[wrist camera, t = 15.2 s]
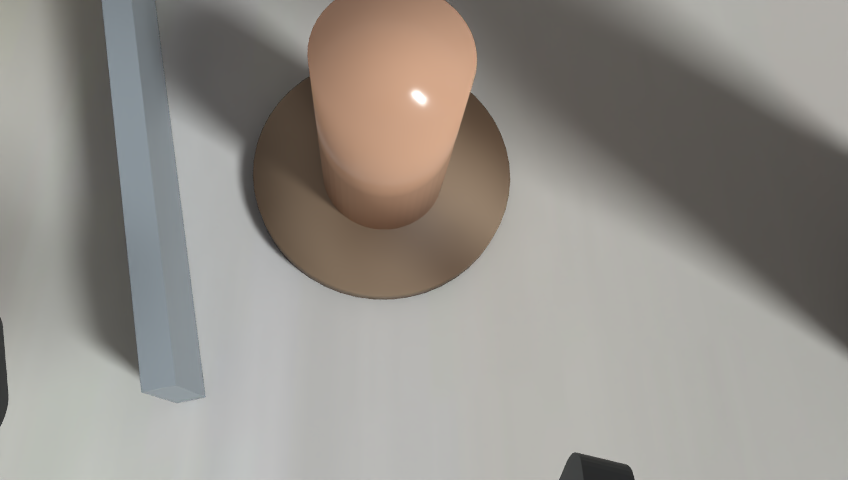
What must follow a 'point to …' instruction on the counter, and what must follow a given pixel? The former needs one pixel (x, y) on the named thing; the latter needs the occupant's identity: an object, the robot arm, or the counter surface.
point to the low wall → (151, 205)
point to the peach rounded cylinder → (388, 103)
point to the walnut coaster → (366, 247)
